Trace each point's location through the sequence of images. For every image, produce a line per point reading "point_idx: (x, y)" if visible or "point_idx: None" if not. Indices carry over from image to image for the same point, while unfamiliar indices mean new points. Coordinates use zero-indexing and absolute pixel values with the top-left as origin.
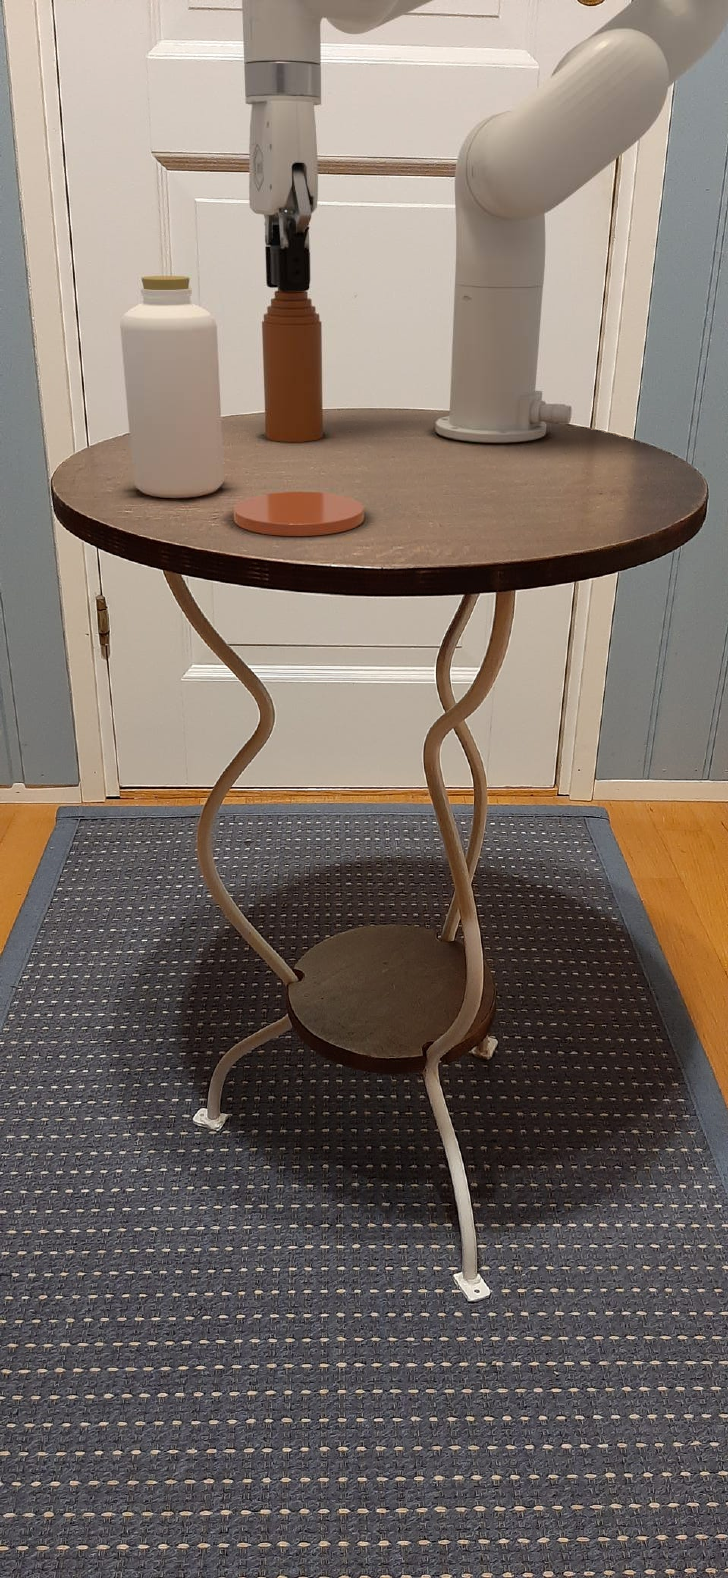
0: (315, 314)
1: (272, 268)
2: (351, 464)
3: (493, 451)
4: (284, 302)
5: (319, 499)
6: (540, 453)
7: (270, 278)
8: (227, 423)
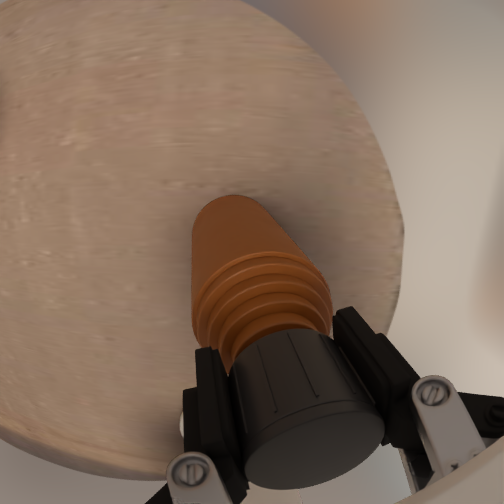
0: None
1: (280, 364)
2: (68, 295)
3: (150, 415)
4: (223, 334)
5: None
6: (146, 438)
7: (340, 329)
8: (342, 145)
